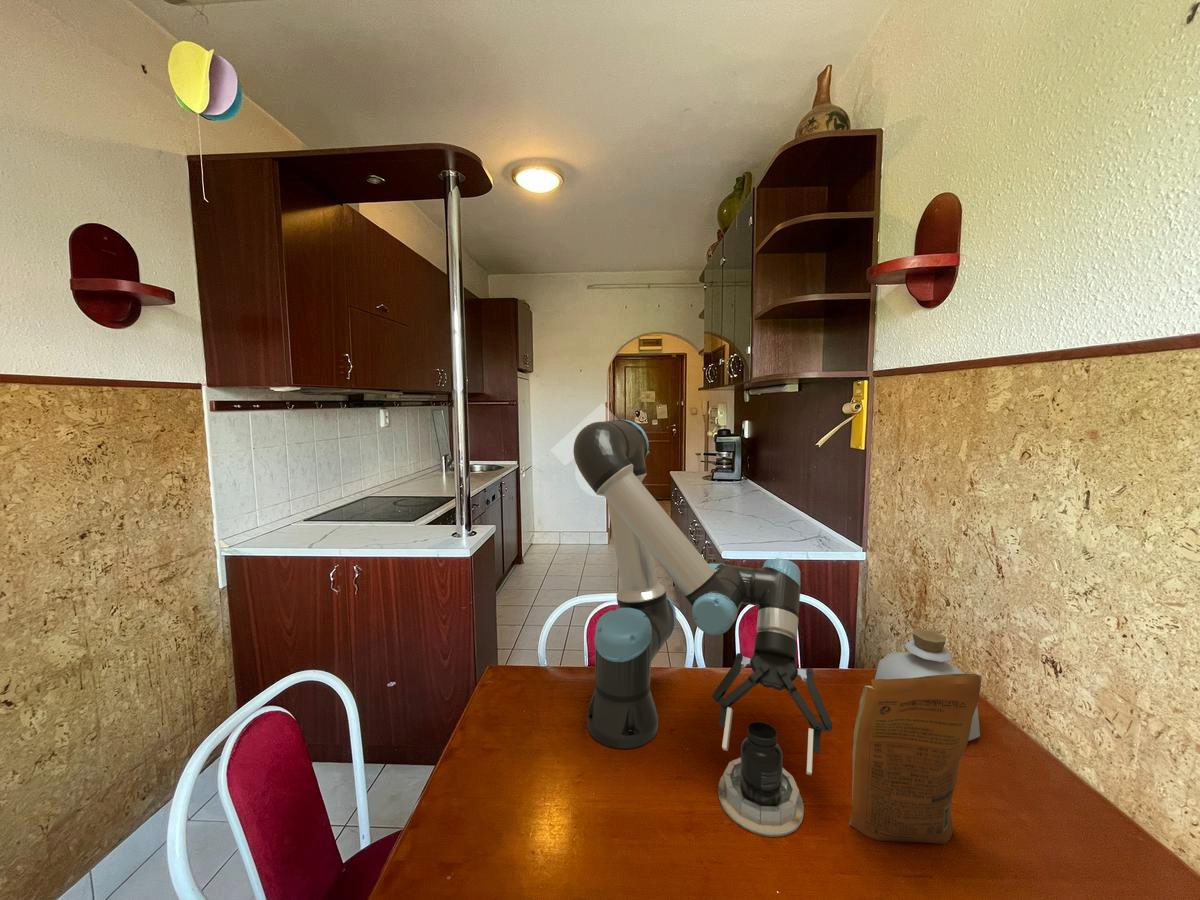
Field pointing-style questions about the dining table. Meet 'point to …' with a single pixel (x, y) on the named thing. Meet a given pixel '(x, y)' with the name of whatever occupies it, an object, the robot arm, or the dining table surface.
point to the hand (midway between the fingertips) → (765, 761)
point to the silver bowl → (761, 817)
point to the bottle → (923, 663)
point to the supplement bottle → (761, 765)
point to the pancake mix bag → (910, 755)
